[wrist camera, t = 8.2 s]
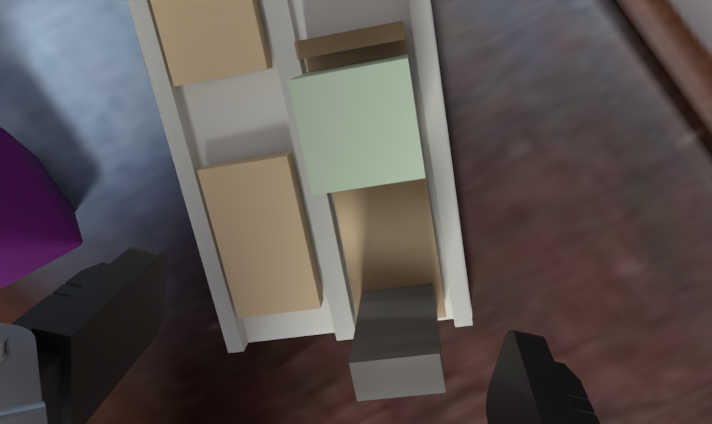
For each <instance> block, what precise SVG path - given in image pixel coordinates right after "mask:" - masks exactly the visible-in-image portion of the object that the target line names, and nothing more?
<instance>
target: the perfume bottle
mask: <svg viewBox="0 0 712 424" xmlns="http://www.w3.org/2000/svg"><path fill="white" fill-rule="evenodd" d="M82 242H83V241H82V237H81V233H80V230H79V226H78V223H77V219H76V215H75V212H74V209H73V208H72V207H71V205H70V204H69V202H68V201H67V199H66V198H65V197H64V195H63V194H62V192H61V191H60V189H59V188H58V187H57V185H56V184H55V182H54V181H53V180H52V178H51V177H50V175H49V174H48V172H47V171H46V170H45V168H44V167H43V165H42V164H41V162H40V161H39V160H38V158H37V157H36V156H35V155H34V154H32V153H31V152H30V151H29V150H28V149H27V148H25V147H24V146H23V145H22V144H21V143H20V142H18V141H17V140H16V139H15V138H14V137H13V136H11V135H10V134H9V133H8V132H7V131H6V130H4V129H3V128H1V127H0V289H1V288H3V287H5V286H7V285H9V284H11V283H12V282H14V281H16V280H18V279H20V278H22V277H23V276H25V275H27V274H29V273H31V272H33V271H34V270H36V269H38V268H40V267H42V266H44V265H46V264H47V263H49V262H51V261H53V260H55V259H57V258H58V257H60V256H62V255H64V254H66V253H68V252H69V251H71V250H73V249H75V248H77V247H79V246H80V245H81V244H82Z"/></svg>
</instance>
